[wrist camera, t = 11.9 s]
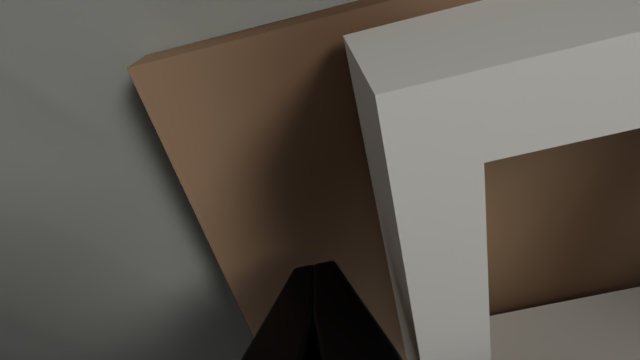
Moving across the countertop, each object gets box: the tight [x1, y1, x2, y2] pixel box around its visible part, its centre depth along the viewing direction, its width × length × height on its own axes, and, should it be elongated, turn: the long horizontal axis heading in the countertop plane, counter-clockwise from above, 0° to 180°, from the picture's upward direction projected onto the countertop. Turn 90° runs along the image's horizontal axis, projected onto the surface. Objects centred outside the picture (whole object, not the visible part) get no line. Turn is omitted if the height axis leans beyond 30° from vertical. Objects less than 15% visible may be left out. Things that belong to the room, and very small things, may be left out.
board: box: [127, 0, 640, 360], centre depth 10 cm, size 18×14×1 cm
